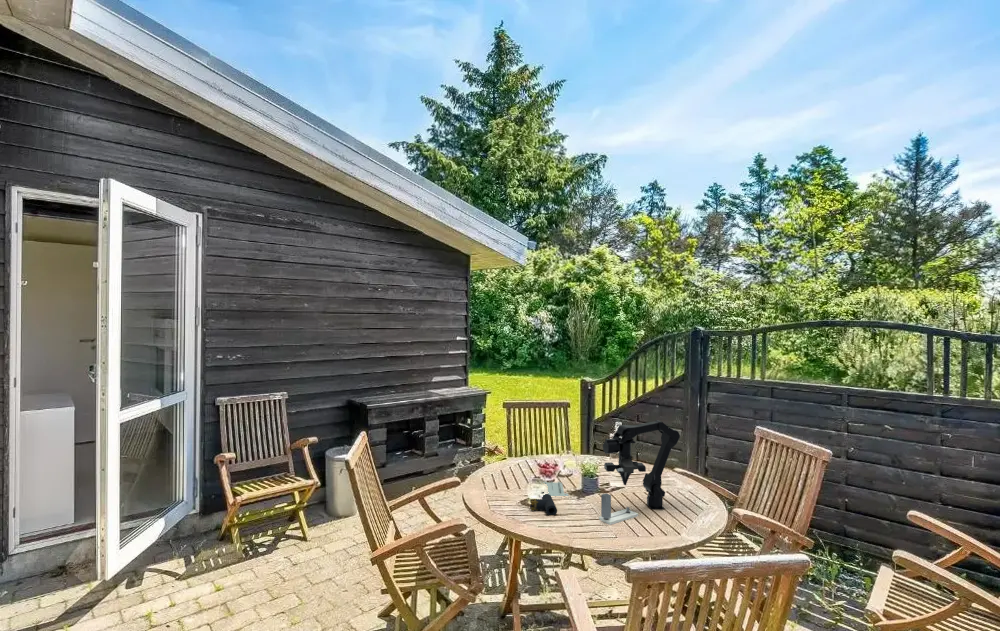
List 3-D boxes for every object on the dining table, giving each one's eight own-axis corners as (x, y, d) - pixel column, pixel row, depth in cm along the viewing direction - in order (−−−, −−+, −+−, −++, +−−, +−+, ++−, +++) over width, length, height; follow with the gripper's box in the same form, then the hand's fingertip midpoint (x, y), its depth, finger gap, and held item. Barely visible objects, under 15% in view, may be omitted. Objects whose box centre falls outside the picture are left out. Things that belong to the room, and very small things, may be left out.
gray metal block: (606, 516, 221) (606, 493, 222) (610, 518, 219) (611, 495, 219) (601, 517, 220) (601, 494, 220) (606, 520, 217) (606, 496, 217)
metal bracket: (537, 478, 261) (565, 478, 261) (537, 487, 263) (565, 488, 263) (539, 495, 248) (569, 495, 247) (539, 505, 249) (568, 505, 249)
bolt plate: (626, 511, 231) (626, 503, 231) (638, 516, 225) (638, 508, 226) (598, 519, 222) (598, 511, 222) (609, 524, 216) (609, 517, 216)
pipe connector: (532, 505, 225) (528, 493, 240) (532, 516, 225) (528, 504, 240) (557, 505, 226) (551, 493, 241) (557, 516, 226) (551, 504, 241)
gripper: (609, 457, 225) (609, 490, 225) (649, 457, 225) (649, 491, 225) (604, 450, 236) (603, 482, 236) (642, 450, 236) (642, 482, 236)
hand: (624, 484), depth 233 cm, fingers closed
